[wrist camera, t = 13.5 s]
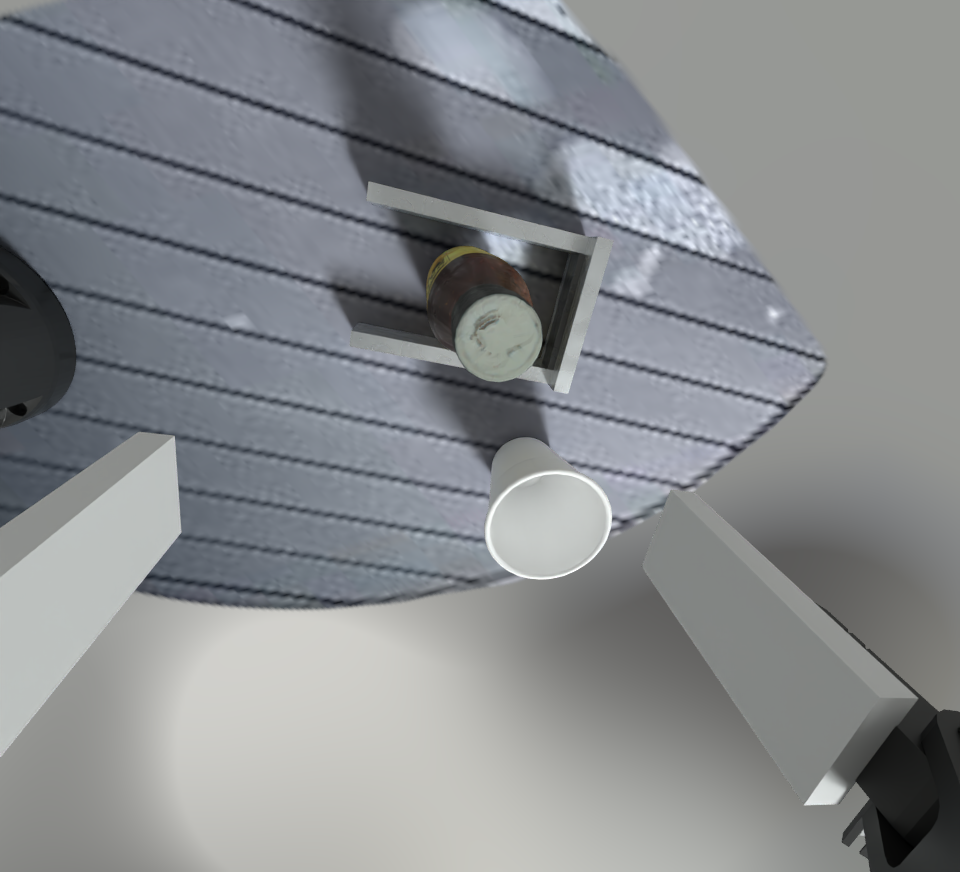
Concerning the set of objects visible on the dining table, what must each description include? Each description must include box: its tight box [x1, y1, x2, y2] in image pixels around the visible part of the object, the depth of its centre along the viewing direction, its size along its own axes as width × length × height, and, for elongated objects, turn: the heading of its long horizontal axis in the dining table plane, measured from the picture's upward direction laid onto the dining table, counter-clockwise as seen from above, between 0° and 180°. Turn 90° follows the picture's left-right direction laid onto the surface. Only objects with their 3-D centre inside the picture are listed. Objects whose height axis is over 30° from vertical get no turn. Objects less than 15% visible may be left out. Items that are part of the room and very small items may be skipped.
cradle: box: [350, 181, 614, 394], centre depth 36 cm, size 17×11×6 cm, turn 78°
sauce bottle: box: [426, 246, 543, 382], centre depth 29 cm, size 7×6×20 cm
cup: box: [484, 437, 612, 579], centre depth 40 cm, size 10×10×11 cm
